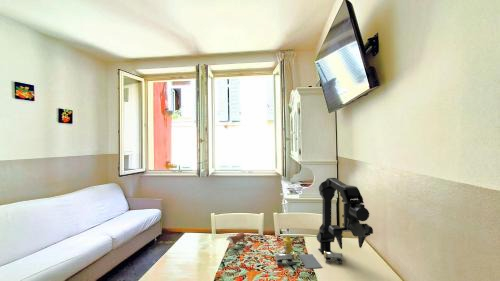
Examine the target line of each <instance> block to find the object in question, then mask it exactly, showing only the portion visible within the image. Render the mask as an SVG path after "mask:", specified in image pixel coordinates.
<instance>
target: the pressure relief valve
mask: <svg viewBox="0 0 500 281" xmlns="http://www.w3.org/2000/svg"><path fill="white" fill-rule="evenodd" d="M291 244H293V238H291V237H290V235H288V234H287V235H286V236H285V237H284V238H283V245H282V246H283V248H284V249H282V250H279V251H277V252H276V254H284V253H285V254H291V253H292V252H293V250H294V248H293V247H292V246H291Z"/></svg>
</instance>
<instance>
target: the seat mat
mask: <svg viewBox="0 0 500 281" xmlns="http://www.w3.org/2000/svg"><path fill="white" fill-rule="evenodd" d="M298 257H299V259H300V260H301V262H302V263H303V265H304V267H305V268H306V269H307V270H309V269H323V266H322V265H321V264H320V262H319V261H318V260H317V258H316V257H315V256H314V254H312V253H309V254H306V253H305V254H298Z"/></svg>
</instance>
